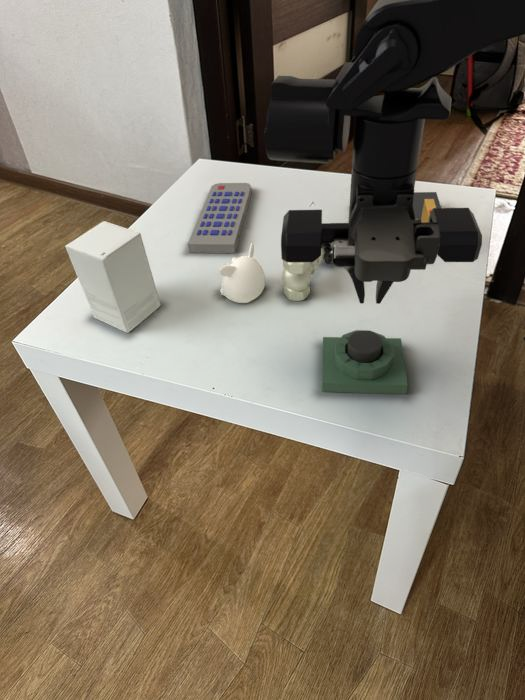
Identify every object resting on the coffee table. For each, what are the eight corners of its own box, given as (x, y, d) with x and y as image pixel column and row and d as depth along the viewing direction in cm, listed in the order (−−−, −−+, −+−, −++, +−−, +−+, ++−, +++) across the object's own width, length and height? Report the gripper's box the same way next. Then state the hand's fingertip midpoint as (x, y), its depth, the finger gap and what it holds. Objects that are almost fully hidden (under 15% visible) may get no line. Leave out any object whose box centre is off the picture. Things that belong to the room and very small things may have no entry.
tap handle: (420, 224, 80) (424, 197, 77) (428, 224, 80) (434, 197, 77) (423, 241, 77) (429, 213, 73) (433, 241, 76) (438, 213, 73)
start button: (379, 340, 62) (380, 330, 60) (381, 363, 59) (383, 353, 58) (346, 340, 62) (347, 329, 61) (347, 363, 59) (348, 352, 58)
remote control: (189, 253, 84) (186, 242, 83) (214, 189, 100) (213, 179, 98) (235, 254, 83) (233, 243, 82) (253, 189, 99) (252, 179, 97)
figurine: (243, 272, 79) (239, 236, 75) (276, 284, 76) (274, 248, 72) (211, 299, 75) (205, 263, 70) (245, 313, 72) (241, 276, 67)
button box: (399, 347, 65) (402, 327, 62) (405, 394, 59) (410, 374, 57) (322, 346, 66) (323, 326, 64) (321, 391, 60) (322, 372, 58)
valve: (308, 308, 72) (348, 266, 78) (308, 271, 67) (350, 230, 74) (271, 294, 75) (312, 255, 81) (268, 257, 70) (312, 219, 77)
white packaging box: (162, 305, 74) (142, 232, 66) (127, 335, 70) (101, 260, 61) (128, 290, 78) (104, 218, 69) (92, 318, 74) (62, 245, 65)
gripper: (272, 212, 39) (280, 350, 50) (519, 208, 37) (471, 354, 48) (282, 152, 47) (287, 284, 58) (486, 147, 45) (451, 284, 56)
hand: (369, 301), depth 55 cm, fingers closed
